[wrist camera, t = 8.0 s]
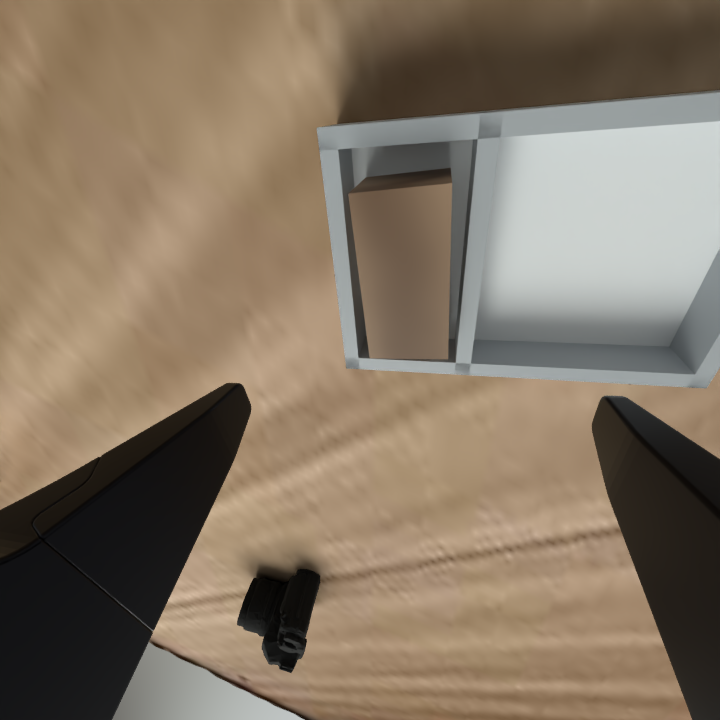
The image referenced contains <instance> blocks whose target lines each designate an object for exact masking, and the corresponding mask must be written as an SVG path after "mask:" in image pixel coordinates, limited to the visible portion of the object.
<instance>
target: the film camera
mask: <svg viewBox="0 0 720 720" xmlns="http://www.w3.org/2000/svg"><path fill="white" fill-rule="evenodd" d="M319 584H320V576H319V575H318V574H317V573H315V572H313V571H310V570H307V569H300V570H298V571H297V573H296V575H295V576H292V577H291V578H290V580H289V582H285V584H283V585H282V584H280V582H272V581H270V580H268V579H265V578H261V580H260V579H257V578H254V579H253V581H252V582H251V585H250V587H249V589H248V592H247V594H246V596H245V599H244V601H243V604H242V608H241V610H240V614H239V617H238V621H237V625H239V626H242V627H244V629H245V630H246V631H250V632H254V633H257V634H258V635H259V636H262V637H263V636H264V639H263V643H262V650H263V653H264V656H265V658H266V660H267V661H268V663H269V664H270V665H272V664H274V665H278V666H279V669H281V670H284V671H287V672H290V673H291V672H292V671H293V669H294V667H295V665H296V663H297V660H298V659H301V658H302V657H303V654H304V651H305V647H306V643H307V639H305V637H306V634H307V630H308V627H309V623H310V618H311V614H312V610H313V606H314V603H315V599H316V596H317V592H318V589H319Z"/></svg>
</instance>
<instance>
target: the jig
mask: <svg viewBox="0 0 720 720" xmlns="http://www.w3.org/2000/svg"><path fill="white" fill-rule="evenodd" d="M317 134H318V142H319V150H320V158H321V166H322V174H323V182H324V190H325V199H326V207H327V215H328V223H329V231H330V239H331V247H332V255H333V263H334V271H335V279H336V288H337V296H338V304H339V312H340V320H341V328H342V336H343V344H344V352H345V360H346V368H350V369H368V370H386V371H404V372H422V373H440V374H458V375H476V376H494V377H512V378H530V379H548V380H566V381H584V382H602V383H620V384H638V385H656V386H674V387H692V388H707V387H708V385H709V384H710V382H711V380H712V379H713V377H714V376H715V374H716V373H717V371H718V369H719V368H720V90H716V91H704V92H693V93H682V94H671V95H659V96H648V97H637V98H626V99H615V100H603V101H592V102H581V103H570V104H558V105H547V106H536V107H525V108H513V109H502V110H491V111H480V112H469V113H457V114H446V115H435V116H424V117H412V118H401V119H390V120H379V121H367V122H356V123H345V124H335V125H330V126H324V127H318V128H317ZM445 168H451V176H452V213H451V256H450V299H449V342H448V359H376V358H370V357H369V349H368V341H367V334H366V326H365V318H364V311H363V303H362V295H361V288H360V280H359V273H358V265H357V257H356V250H355V242H354V234H353V227H352V219H351V211H350V204H349V196H348V193H349V192H350V191H352V190H353V189H354V188H355V187H356V186H357V185H358V184H359V183H360V182H361V181H362V180H364V179H365V178H366V177H372V176H381V175H390V174H399V173H408V172H417V171H427V170H436V169H445Z"/></svg>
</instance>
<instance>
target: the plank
mask: <svg viewBox="0 0 720 720" xmlns="http://www.w3.org/2000/svg"><path fill="white" fill-rule="evenodd" d="M348 196H349V204H350V211H351V219H352V227H353V234H354V242H355V250H356V257H357V265H358V273H359V280H360V288H361V295H362V303H363V311H364V318H365V326H366V334H367V341H368V349H369V357H370V358H376V359H448V342H449V299H450V256H451V213H452V176H451V168H445V169H436V170H427V171H417V172H408V173H399V174H390V175H381V176H372V177H366V178H365V179H364V180H362V181H361V182H360V183H359V184H358V185H357V186H356V187H355V188H354V189H353V190H352V191H350V192H349V193H348Z"/></svg>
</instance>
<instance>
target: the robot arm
mask: <svg viewBox="0 0 720 720" xmlns="http://www.w3.org/2000/svg"><path fill="white" fill-rule="evenodd" d="M250 414H251V404H250V401H249V399H248V396H247V394H246V391H245V389H244V387H243V385H242V384H240V383H226V384H224V385H223V386H221V387H219V388H217V389H216V390H214V391H212V392H210V393H209V394H207V395H205V396H204V397H202V398H200V399H198V400H197V401H195V402H193V403H191V404H190V405H188V406H186V407H184V408H183V409H181V410H179V411H178V412H176V413H174V414H172V415H171V416H169V417H167V418H165V419H164V420H162V421H160V422H158V423H157V424H155V425H153V426H152V427H150V428H148V429H146V430H145V431H143V432H141V433H139V434H138V435H136V436H134V437H132V438H131V439H129V440H127V441H126V442H124V443H122V444H120V445H119V446H117V447H115V448H113V449H112V450H110V451H108V452H106V453H105V454H103V455H102V456H101V457H98V458H96V459H94V460H92V461H91V462H89V463H87V464H86V465H84V466H82V467H80V468H78V469H77V470H75V471H73V472H71V473H70V474H68V475H66V476H64V477H62V478H61V479H59V480H57V481H55V482H53V483H51V484H49V485H47V486H46V487H44V488H42V489H40V490H38V491H36V492H34V493H32V494H30V495H28V496H26V497H25V498H23V499H21V500H19V501H17V502H15V503H13V504H11V505H9V506H7V507H5V508H3V509H1V510H0V720H112V719H113V716H114V714H115V712H116V710H117V708H118V706H119V704H120V702H121V699H122V697H123V695H124V693H125V691H126V688H127V687H128V685H129V682H130V680H131V678H132V676H133V674H134V672H135V670H136V668H137V665H138V663H139V661H140V659H141V657H142V655H143V653H144V651H145V649H146V646H147V644H148V642H149V640H150V638H151V636H152V634H153V632H152V631H154V629H155V627H156V625H157V623H158V621H159V618H160V616H161V614H162V612H163V610H164V608H165V606H166V604H167V601H168V599H169V597H170V595H171V593H172V591H173V589H174V587H175V585H176V582H177V580H178V578H179V576H180V574H181V572H182V570H183V568H184V565H185V563H186V561H187V559H188V557H189V555H190V553H191V551H192V548H193V546H194V544H195V542H196V540H197V538H198V536H199V534H200V532H201V529H202V527H203V525H204V523H205V521H206V519H207V517H208V515H209V512H210V510H211V508H212V506H213V504H214V502H215V500H216V498H217V495H218V493H219V491H220V489H221V487H222V485H223V483H224V481H225V479H226V476H227V474H228V472H229V470H230V468H231V466H232V463H233V461H234V459H235V456H236V454H237V451H238V448H239V445H240V442H241V439H242V437H243V434H244V431H245V428H246V425H247V422H248V419H249V417H250ZM592 433H593V437H594V441H595V445H596V449H597V454H598V458H599V462H600V466H601V470H602V474H603V478H604V483H605V486H606V490H607V494H608V497H609V499H610V502H611V505H612V508H613V511H614V513H615V516H616V518H617V521H618V524H619V526H620V529H621V532H622V534H623V537H624V540H625V542H626V545H627V548H628V550H629V553H630V556H631V558H632V561H633V564H634V566H635V569H636V572H637V574H638V577H639V579H640V582H641V585H642V587H643V590H644V593H645V595H646V598H647V601H648V603H649V606H650V609H651V611H652V614H653V617H654V619H655V622H656V625H657V627H658V630H659V633H660V635H661V638H662V641H663V643H664V646H665V648H666V651H667V654H668V656H669V659H670V662H671V664H672V667H673V670H674V672H675V675H676V678H677V680H678V683H679V686H680V688H681V691H682V694H683V696H684V699H685V702H686V704H687V707H688V710H689V712H690V715H691V717H692V720H720V459H719V458H717V457H716V456H714V455H713V454H711V453H710V452H708V451H707V450H705V449H704V448H702V447H701V446H699V445H698V444H696V443H695V442H693V441H692V440H690V439H688V438H687V437H685V436H684V435H682V434H681V433H679V432H678V431H676V430H675V429H673V428H672V427H670V426H669V425H667V424H666V423H664V422H663V421H661V420H660V419H658V418H657V417H655V416H654V415H652V414H651V413H649V412H648V411H646V410H645V409H643V408H642V407H640V406H639V405H637V404H636V403H634V402H633V401H631V400H629V399H628V398H626V397H623V396H604V397H602V398H601V400H600V402H599V405H598V407H597V410H596V413H595V416H594V419H593V422H592Z"/></svg>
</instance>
